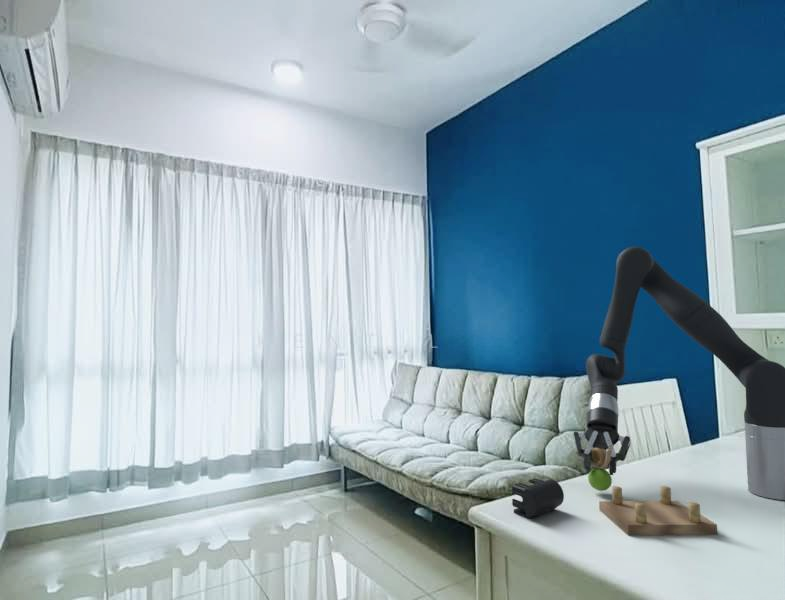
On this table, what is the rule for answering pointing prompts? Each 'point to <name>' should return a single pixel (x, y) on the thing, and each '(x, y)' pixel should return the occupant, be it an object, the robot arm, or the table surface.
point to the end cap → (537, 497)
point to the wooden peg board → (656, 516)
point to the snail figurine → (600, 469)
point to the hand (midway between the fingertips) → (599, 471)
